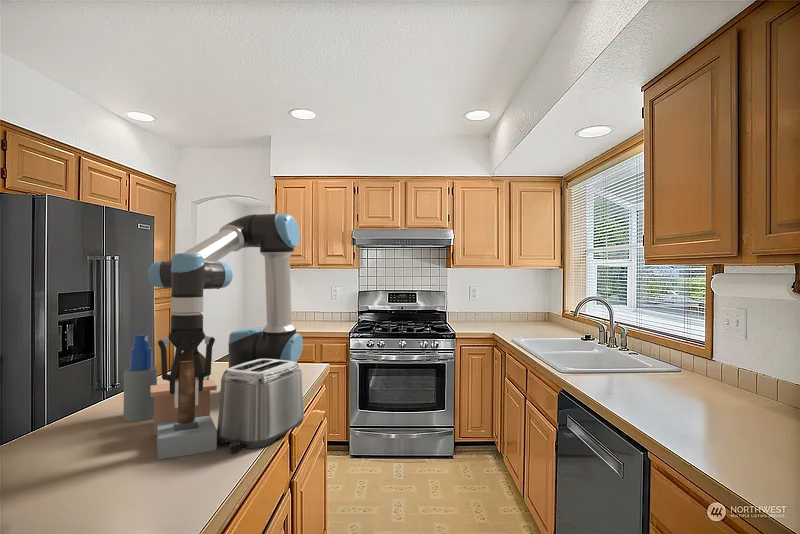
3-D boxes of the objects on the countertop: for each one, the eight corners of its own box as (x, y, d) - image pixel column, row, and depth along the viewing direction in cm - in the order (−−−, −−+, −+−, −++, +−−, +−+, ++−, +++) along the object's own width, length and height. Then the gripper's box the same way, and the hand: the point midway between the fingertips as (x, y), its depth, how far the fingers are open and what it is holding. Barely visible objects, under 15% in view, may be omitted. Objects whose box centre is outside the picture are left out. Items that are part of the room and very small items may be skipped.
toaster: (314, 421, 140) (314, 357, 140) (251, 459, 112) (252, 379, 112) (266, 415, 145) (267, 353, 145) (195, 449, 117) (196, 373, 117)
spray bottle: (163, 412, 147) (164, 332, 147) (142, 421, 138) (143, 337, 138) (138, 410, 148) (139, 331, 149) (116, 419, 140) (117, 335, 140)
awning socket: (212, 424, 136) (212, 379, 136) (222, 449, 118) (223, 396, 118) (150, 433, 128) (150, 385, 128) (150, 461, 110) (151, 404, 110)
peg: (193, 417, 122) (194, 360, 122) (195, 422, 119) (196, 363, 119) (177, 420, 120) (177, 361, 120) (177, 424, 117) (178, 364, 117)
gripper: (220, 311, 127) (219, 397, 127) (149, 313, 119) (148, 405, 119) (224, 313, 120) (223, 404, 120) (149, 316, 112) (148, 413, 112)
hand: (186, 404), depth 120 cm, fingers closed on peg, 4 cm apart
